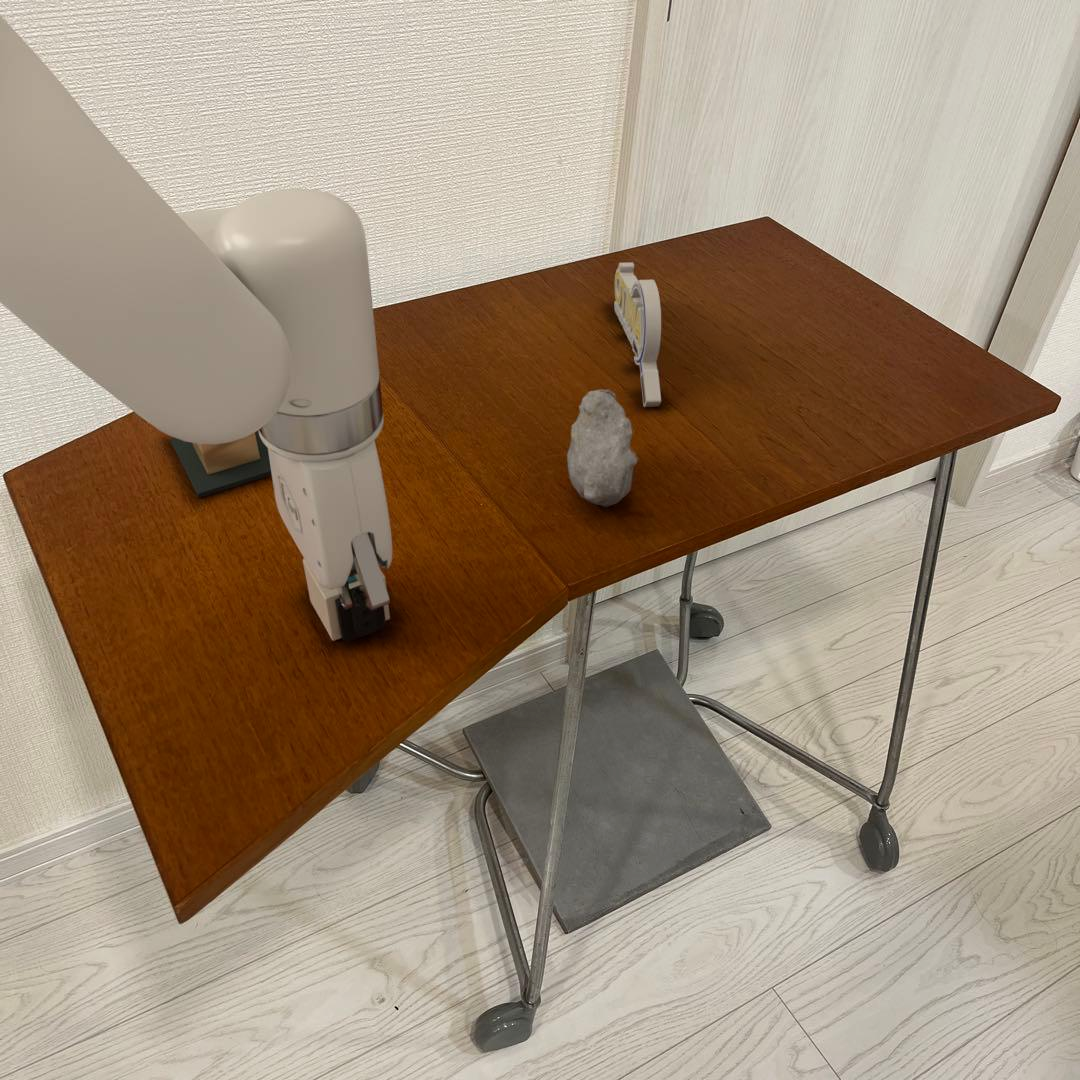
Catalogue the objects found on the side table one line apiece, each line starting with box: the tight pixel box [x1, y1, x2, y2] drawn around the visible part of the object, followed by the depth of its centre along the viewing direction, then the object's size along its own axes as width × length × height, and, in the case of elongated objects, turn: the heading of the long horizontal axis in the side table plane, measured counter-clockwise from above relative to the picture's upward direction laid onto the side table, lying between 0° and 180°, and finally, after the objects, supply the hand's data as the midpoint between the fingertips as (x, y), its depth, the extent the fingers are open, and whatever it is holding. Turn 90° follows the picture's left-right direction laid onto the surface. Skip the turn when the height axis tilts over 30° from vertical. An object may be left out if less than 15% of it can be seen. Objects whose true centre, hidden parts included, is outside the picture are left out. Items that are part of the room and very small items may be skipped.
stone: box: [566, 389, 639, 508], centre depth 80 cm, size 9×7×10 cm
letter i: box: [302, 558, 391, 642], centre depth 72 cm, size 4×4×4 cm
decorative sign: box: [613, 262, 662, 408], centre depth 96 cm, size 18×1×10 cm, turn 6°
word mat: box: [169, 431, 272, 499], centre depth 86 cm, size 14×8×1 cm, turn 120°
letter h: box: [192, 432, 260, 475], centre depth 83 cm, size 4×4×4 cm
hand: (349, 606), depth 73 cm, fingers closed on letter i, 4 cm apart
